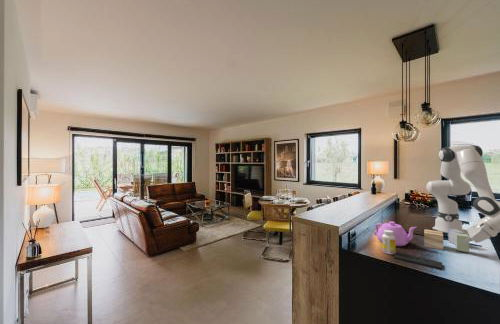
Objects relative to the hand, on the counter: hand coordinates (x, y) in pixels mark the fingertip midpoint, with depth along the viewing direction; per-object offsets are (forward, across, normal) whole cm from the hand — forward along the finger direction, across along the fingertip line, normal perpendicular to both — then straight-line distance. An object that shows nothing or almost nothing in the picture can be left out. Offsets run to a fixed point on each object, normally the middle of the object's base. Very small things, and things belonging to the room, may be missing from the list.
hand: (463, 240), depth 127 cm
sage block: (+4, 0, +4) cm, 6 cm away
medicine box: (+7, -14, +3) cm, 16 cm away
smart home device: (+19, +33, -9) cm, 39 cm away
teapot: (+28, +8, -19) cm, 35 cm away
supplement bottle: (+28, +29, -19) cm, 45 cm away
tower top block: (+11, 0, -8) cm, 14 cm away
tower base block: (+14, 0, -4) cm, 15 cm away
